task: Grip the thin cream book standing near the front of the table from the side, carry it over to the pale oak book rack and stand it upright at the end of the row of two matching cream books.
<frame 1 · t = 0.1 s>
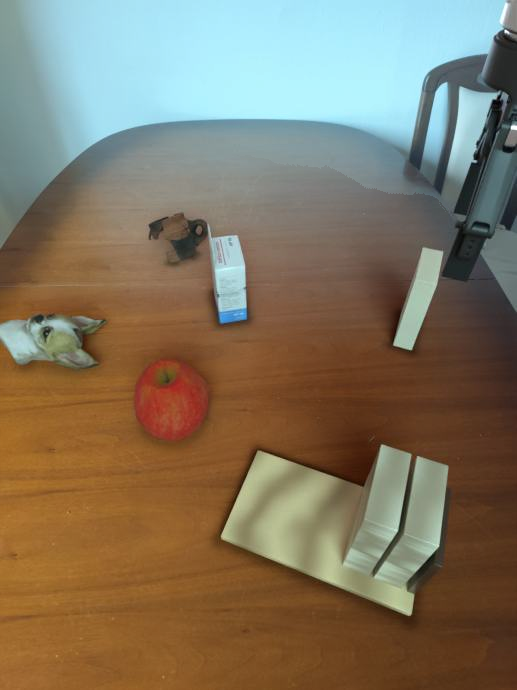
hand: (459, 243, 54), 23 cm above the table, tool pointing down, fingers open, 13 cm apart
ceramic sculpture: (60, 354, 73), on the table
book rack: (324, 525, 54), on the table
cream book: (406, 331, 76), on the table
ink box: (230, 306, 80), on the table
pottery mug: (181, 248, 91), on the table
apple: (175, 418, 65), on the table
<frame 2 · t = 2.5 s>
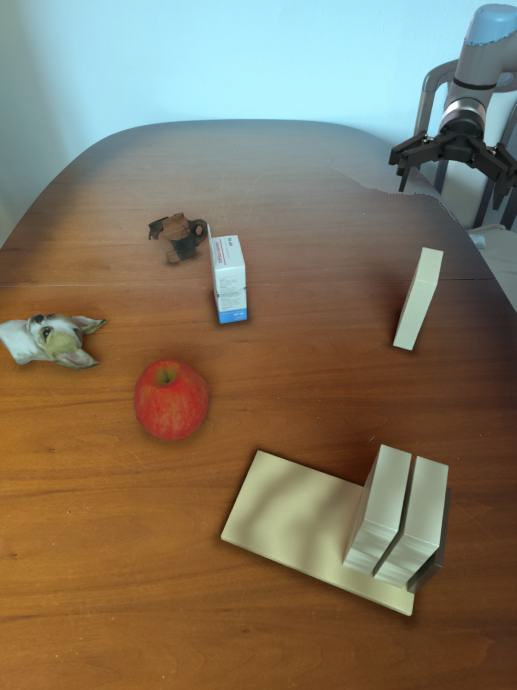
hand: (449, 192, 66), 20 cm above the table, tool horizontal, fingers open, 13 cm apart
nothing on the table moved.
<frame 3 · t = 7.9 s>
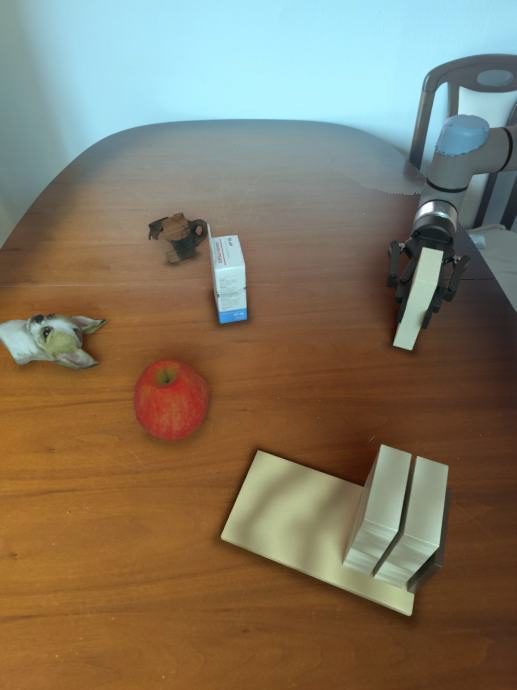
hand: (413, 319, 66), 8 cm above the table, tool horizontal, fingers closed on cream book, 3 cm apart
cream book: (406, 331, 76), on the table, touching gripper
everything else where it was.
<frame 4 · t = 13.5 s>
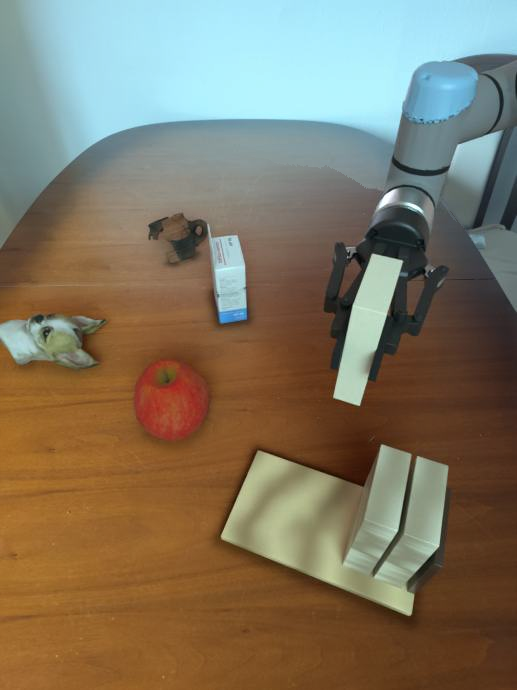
hand: (354, 366, 43), 22 cm above the table, tool horizontal, fingers closed on cream book, 3 cm apart
cream book: (354, 375, 52), point 14 cm above the table, touching gripper
everything else where it was.
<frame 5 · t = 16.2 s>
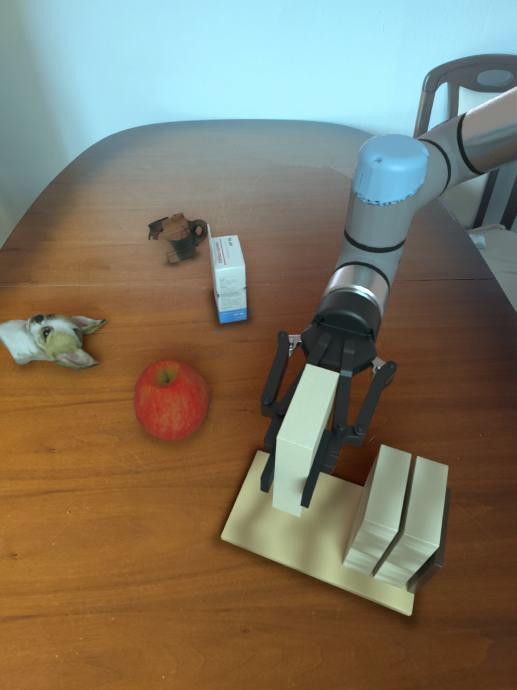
hand: (284, 492, 39), 18 cm above the table, tool horizontal, fingers closed on cream book, 3 cm apart
cream book: (298, 477, 48), point 10 cm above the table, touching gripper
everything else where it was.
when the fingers open (9 cm above the table, at t = 19.0 s): cream book stays where it is, resting on book rack.
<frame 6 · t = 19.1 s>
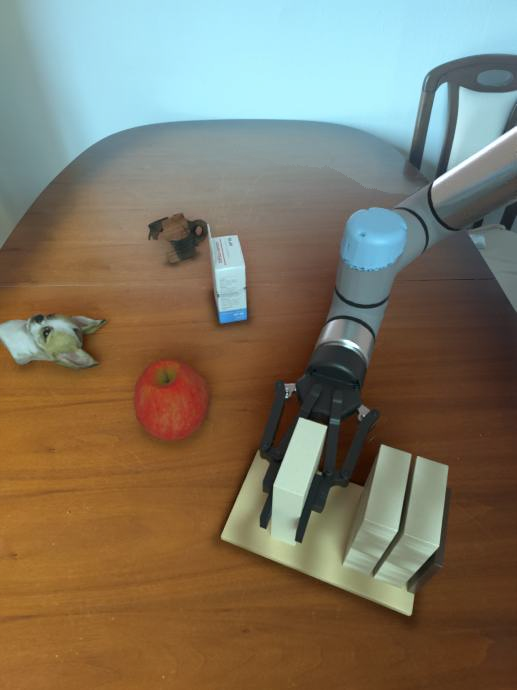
hand: (280, 530, 45), 9 cm above the table, tool horizontal, fingers open, 3 cm apart
cream book: (293, 509, 55), point 1 cm above the table, touching book rack
everything else where it was.
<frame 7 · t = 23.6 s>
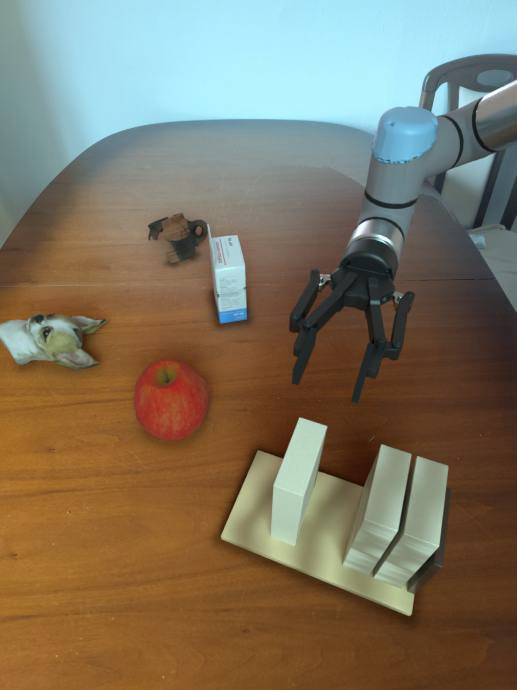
hand: (325, 385, 48), 16 cm above the table, tool horizontal, fingers open, 6 cm apart
nothing on the table moved.
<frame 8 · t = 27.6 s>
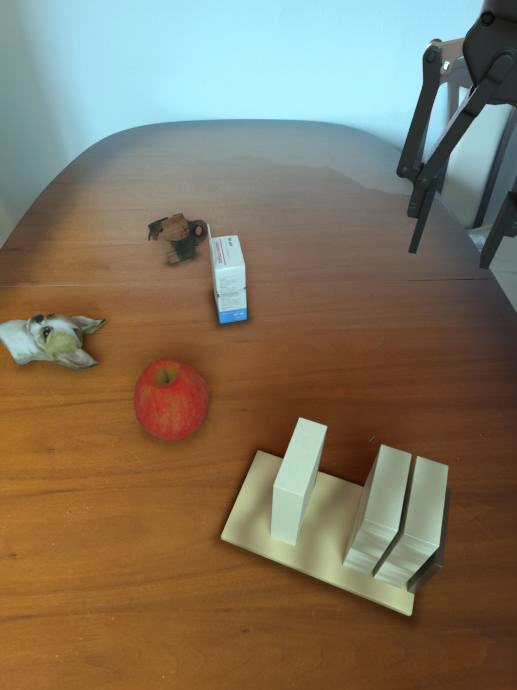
hand: (448, 252, 44), 28 cm above the table, tool pointing down, fingers open, 6 cm apart
nothing on the table moved.
at the end: cream book 0.4 cm from the target spot on the book rack, point 1.0 cm above the book rack's base; cream book tilted 0°; the gripper is holding nothing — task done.
